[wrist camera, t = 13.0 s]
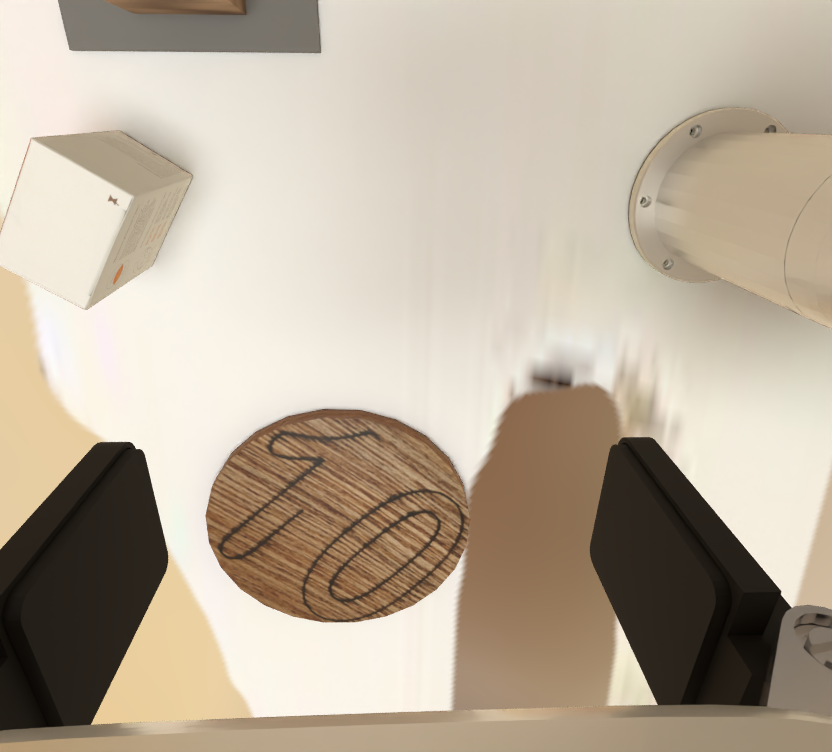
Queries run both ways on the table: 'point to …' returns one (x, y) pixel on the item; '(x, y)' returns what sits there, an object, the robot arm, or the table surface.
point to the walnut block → (183, 6)
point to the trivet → (338, 516)
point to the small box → (89, 213)
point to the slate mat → (193, 28)
